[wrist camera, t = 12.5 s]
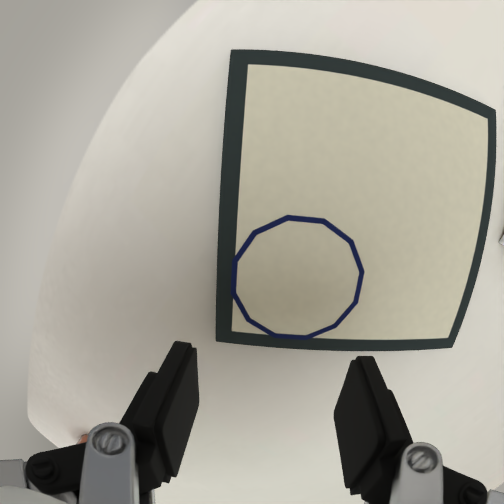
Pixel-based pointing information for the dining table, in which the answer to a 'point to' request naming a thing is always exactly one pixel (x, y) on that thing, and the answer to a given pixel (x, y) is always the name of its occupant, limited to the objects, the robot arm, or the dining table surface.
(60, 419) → the dining table surface
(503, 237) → the folded paper
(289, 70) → the drawing mat
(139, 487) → the robot arm
